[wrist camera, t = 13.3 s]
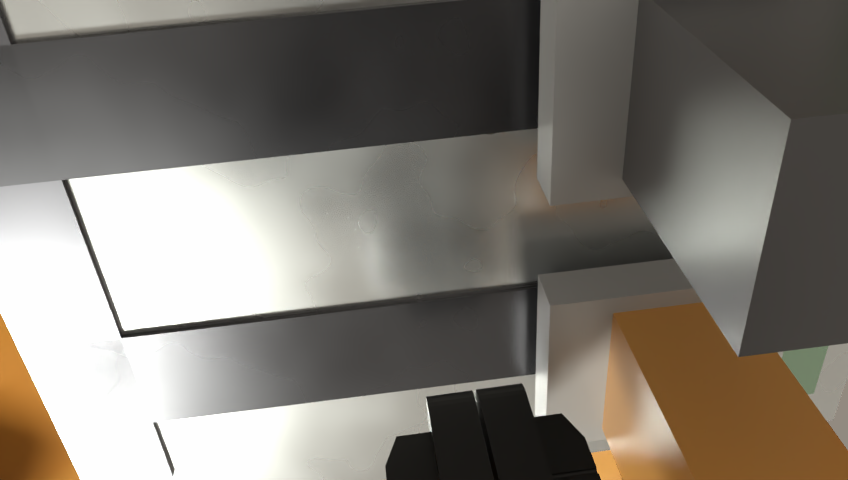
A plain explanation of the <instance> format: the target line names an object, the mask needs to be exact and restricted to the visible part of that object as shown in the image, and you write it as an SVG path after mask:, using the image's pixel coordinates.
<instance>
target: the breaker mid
mask: <svg viewBox="0 0 848 480" xmlns="http://www.w3.org/2000/svg"><path fill="white" fill-rule="evenodd" d="M537 179H538V181H539V183H540V185H541V188H542V190H543V192H544V194H545V196H546V198H547V200H548V202H549V205H550V206H554V205H563V204H572V203H581V202H589V201H598V200H607V199H616V198H624V197H634V198H635V200H636V201H637V203H638V204H639V206H640V207H641V209H642V210H643V212H644V214H645V215H646V217H647V218H648V220H649V221H650V223H651V224H652V226H653V227H654V229H655V230H656V232H657V233H658V235H659V236H660V238H661V240H662V241H663V243H664V244H665V246H666V247H667V249H668V250H669V252H670V253H671V255H672V256H673V258H674V259H675V261H676V263H677V264H678V266H679V267H680V269H681V270H682V272H683V273H684V275H685V276H686V278H687V279H688V281H689V282H690V284H691V286H692V287H693V289H694V290H695V292H696V293H697V295H698V296H699V298H700V299H701V301H702V302H703V304H704V305H705V307H706V309H707V310H708V312H709V313H710V315H711V316H712V318H713V319H714V321H715V322H716V324H717V325H718V327H719V328H720V330H721V332H722V333H723V335H724V336H725V338H726V339H727V341H728V342H729V344H730V345H731V347H732V348H733V350H734V351H735V353H736V354H737V356H738V357H744V356H751V355H759V354H767V353H775V352H783V351H791V350H799V349H806V348H814V347H822V346H830V345H838V344H846V343H848V0H541V9H540V56H539V103H538V149H537Z"/></svg>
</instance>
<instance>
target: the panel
mask: <svg viewBox="0 0 848 480" xmlns="http://www.w3.org/2000/svg"><path fill="white" fill-rule="evenodd" d="M540 9H541V0H0V312H1V314H2V316H3V318H4V320H5V323H6V325H7V327H8V329H9V331H10V333H11V335H12V337H13V339H14V341H15V343H16V345H17V348H18V350H19V352H20V354H21V356H22V358H23V360H24V362H25V364H26V366H27V368H28V371H29V373H30V375H31V377H32V379H33V381H34V383H35V385H36V387H37V389H38V391H39V393H40V396H41V398H42V400H43V402H44V404H45V406H46V408H47V410H48V412H49V414H50V416H51V418H52V421H53V423H54V425H55V427H56V429H57V431H58V433H59V435H60V437H61V439H62V441H63V444H64V446H65V448H66V450H67V452H68V454H69V456H70V458H71V460H72V462H73V464H74V466H75V469H76V471H77V473H78V475H79V477H80V479H81V480H387V479H386V469H385V465H386V463H387V460H388V457H389V455H390V452H391V450H392V447H393V444H394V442H395V439H396V436H403V435H410V434H418V433H425V432H429V427H428V416H427V406H426V396H434V395H441V394H448V393H456V392H463V391H471V390H472V391H473V393H474V397H475V390H476V389H483V388H491V387H498V386H505V385H513V384H520V383H522V384H523V386H524V388H525V391H526V393H527V397H528V400H529V403H530V406H531V409H532V413H533V416H534V417H536V416H535V380H536V339H537V298H538V275H540V274H548V273H557V272H565V271H574V270H582V269H590V268H599V267H607V266H615V265H624V264H632V263H641V262H649V261H657V260H666V259H674V258H673V256H672V255H671V253H670V252H669V250H668V249H667V247H666V246H665V244H664V243H663V241H662V240H661V238H660V236H659V235H658V233H657V232H656V230H655V229H654V227H653V226H652V224H651V223H650V221H649V220H648V218H647V217H646V215H645V214H644V212H643V210H642V209H641V207H640V206H639V204H638V203H637V201H636V200H635V198H634V197H624V198H616V199H607V200H598V201H589V202H581V203H572V204H563V205H554V206H550V205H549V202H548V200H547V198H546V196H545V194H544V192H543V190H542V188H541V185H540V183H539V181H538V179H537V149H538V103H539V56H540ZM782 360H783V361H784V362H785V364H786V365H787V367H788V368H789V369H790V371H791V372H792V374H793V375H794V376H795V378H796V379H797V380H798V382H799V383H800V385H801V386H802V387H803V389H804V390H805V392H806V393H807V394H808V396H809V397H810V399H811V400H812V401H813V403H814V404H815V406H816V407H817V408H818V410H819V411H820V412H821V414H822V415H823V417H824V418H825V419H826V421H831V420H833V419H834V417H835V414H836V411H837V408H838V405H839V401H840V399H841V396H842V393H843V390H844V387H845V383H846V381H847V378H848V343H846V344H838V345H830V346H822V347H814V348H806V349H799V350H791V351H783V355H782ZM587 444H588V447H589V449H590V452H598V451H605V450H610V447H609V445H608V442H607V440H598V441H590V442H587Z"/></svg>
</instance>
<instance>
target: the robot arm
mask: <svg viewBox="0 0 848 480" xmlns="http://www.w3.org/2000/svg"><path fill="white" fill-rule="evenodd" d="M426 406H427V416H428V427H429V432H425V433H418V434H410V435H403V436H396V439H395V442H394V444H393V447H392V450H391V452H390V455H389V457H388V460H387V463H386V465H385V469H386V479H387V480H601V479H600V476H599V474H597V470H596V465H595V463H594V460H593V457H592V455H591V452H590V449H589V447H588V444H587V441H586V439H585V437H584V436H583V435H582V434H581V433H580V432H579V431H578V430H577V429H576V428H575V427H574V425H573V424H572V423H571V422H570V421H569V420H568V419H567V418H566V417H565V416H564V415H563V414H562V413H560V414H552V415H545V416H538V417H534V416H533V413H532V409H531V406H530V403H529V400H528V397H527V393H526V391H525V388H524V386H523V384H522V383H520V384H513V385H505V386H498V387H491V388H483V389H476V390H475V397H474V393H473V391H472V390H471V391H463V392H456V393H448V394H441V395H434V396H426Z"/></svg>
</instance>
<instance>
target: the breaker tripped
mask: <svg viewBox="0 0 848 480" xmlns="http://www.w3.org/2000/svg"><path fill="white" fill-rule="evenodd" d="M782 355H783V352H775V353H767V354H759V355H751V356H744V357H738V356H737V354H736V353H735V351H734V350H733V348H732V347H731V345H730V344H729V342H728V341H727V339H726V338H725V336H724V335H723V333H722V332H721V330H720V328H719V327H718V325H717V324H716V322H715V321H714V319H713V318H712V316H711V315H710V313H709V312H708V310H707V309H706V307H705V305H704V304H703V302H702V301H701V299H700V298H699V296H698V295H697V293H696V292H695V290H694V289H693V287H692V286H691V284H690V282H689V281H688V279H687V278H686V276H685V275H684V273H683V272H682V270H681V269H680V267H679V266H678V264H677V263H676V261H675V259H666V260H657V261H649V262H641V263H632V264H624V265H615V266H607V267H599V268H590V269H582V270H574V271H565V272H557V273H548V274H540V275H538V298H537V339H536V380H535V416H536V417H538V416H545V415H552V414H560V413H562V414H563V415H564V416H565V417H566V418H567V419H568V420H569V421H570V422H571V423H572V424H573V425H574V427H575V428H576V429H577V430H578V431H579V432H580V433H581V434H582V435H583V436H584V437H585V439H586V441H587V442H590V441H598V440H607V442H608V445H609V447H610V450H611V452H612V455H613V457H614V460H615V462H616V465H617V467H618V470H619V472H620V475H621V477H622V480H848V450H847V449H846V447H845V446H844V444H843V443H842V442H841V441H840V439H839V438H838V436H837V435H836V434H835V432H834V431H833V429H832V428H831V426H830V425H829V424H828V422H827V421H826V419H825V418H824V417H823V415H822V414H821V412H820V411H819V410H818V408H817V407H816V406H815V404H814V403H813V401H812V400H811V399H810V397H809V396H808V394H807V393H806V392H805V390H804V389H803V387H802V386H801V385H800V383H799V382H798V380H797V379H796V378H795V376H794V375H793V374H792V372H791V371H790V369H789V368H788V367H787V365H786V364H785V362H784V361H783V360H782Z"/></svg>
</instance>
